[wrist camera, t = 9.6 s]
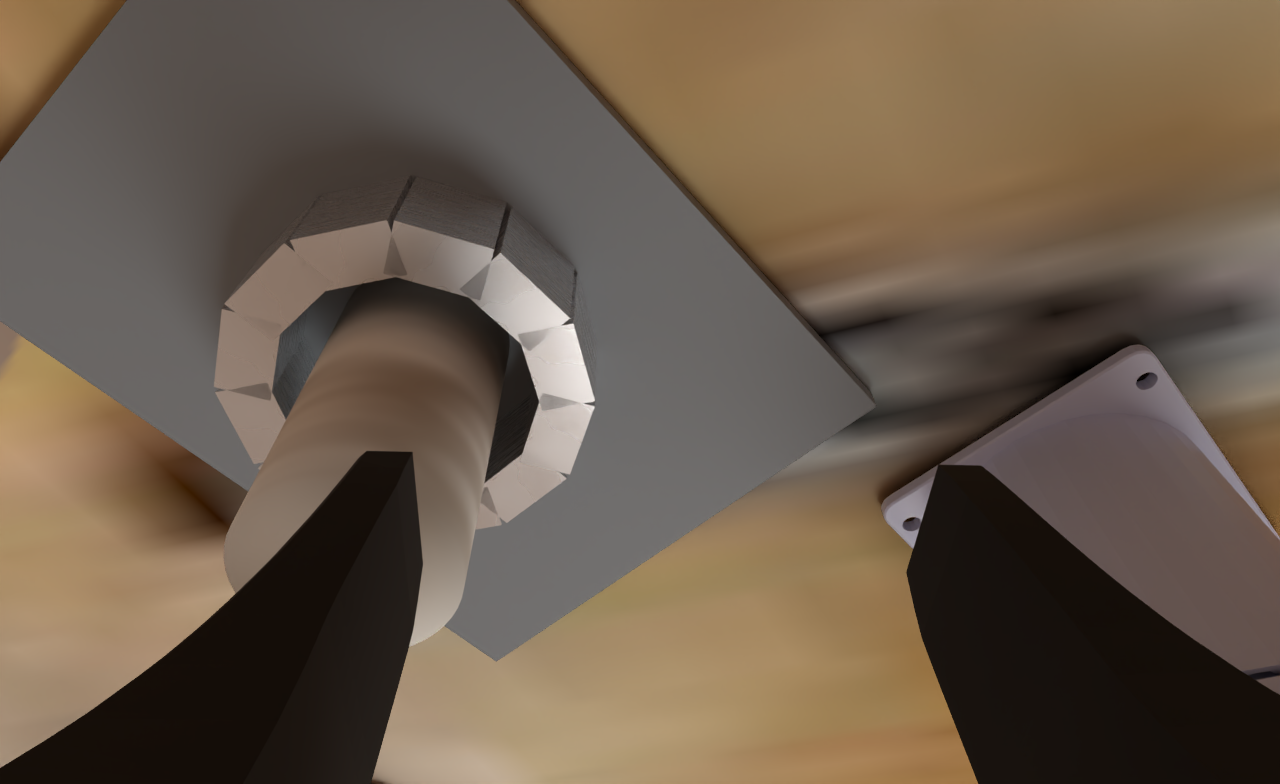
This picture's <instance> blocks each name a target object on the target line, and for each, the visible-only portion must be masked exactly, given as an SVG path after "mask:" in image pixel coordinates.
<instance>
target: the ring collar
mask: <svg viewBox="0 0 1280 784" xmlns="http://www.w3.org/2000/svg"><path fill="white" fill-rule="evenodd" d="M506 203H507V202H504V201H500V200H497V199H494V198H490V197H487V196H484V195H480V194H477V193H474V192H470V191H467V190H464V189H460V188H457V187H454V186H450V185H447V184H444V183H440V182H437V181H433V180H430V179H427V178H423V177H420V176H416V178H415V180H414V182H413V181H412V178H411V175H409V176H405V177H400V178H395V179H390V180H386V181H381V182H376V183H371V184H367V185H362V186H357V187H352V188H348V189H343V190H338V191H333V192H329V193H324V194H323V195H322V196H321V198H319V197H317V198H316V199H315V200H314V201H313V202H312V203H311V204H310V205H309V206H308V207H307V208H306V209H305V210H304V211H303V212H302V213H301V214H300V215H299V216H298V217H297V218H296V219H295V220H294V221H293V222H292V223H291V224H290V225H289V226H288V228H287V229H286V230H285V231H284V232H283V233H282V234H281V235H280V236H279V237H278V238H277V239H276V240H275V241H274V242H273V243H272V244H271V245H270V246H269V247H268V248H267V249H266V250H265V251H264V252H263V253H262V254H261V256H260V257H259V258H258V260H257V261H256V262H255V264H254V265H253V266H252V268H251V269H250V270H249V272H248V273H247V274H246V276H245V277H244V278H243V280H242V281H241V282H240V284H239V285H238V286H237V287H236V289H235V290H234V291H233V293H232V294H231V295H230V297H229V298H228V299H227V301H226V302H225V303H224V304H225V305H224V307H223V308H222V312H221V322H220V332H219V341H218V351H217V361H216V370H215V380H214V387H216V388H217V390H216V392H215V393H216V395H217V397H218V399H219V401H220V403H221V404H222V406H223V408H224V410H225V412H226V414H227V415H228V417H229V419H230V421H231V423H232V425H233V426H234V428H235V430H236V432H237V434H238V436H239V438H240V439H241V441H242V443H243V445H244V447H245V449H246V450H247V452H248V454H249V456H250V458H251V460H252V461H253V463H254V464H257V463H260V465H259V467H258V469H259V470H260V469H261V467H262V465H263V463H264V461H265V459H266V457H267V455H268V453H269V452H270V450H271V448H272V446H273V444H274V442H275V440H276V438H277V436H278V434H279V432H280V431H281V429H282V427H283V425H284V423H285V421H286V419H287V417H288V415H289V413H290V411H291V410H292V408H293V406H294V404H295V402H296V400H297V398H298V396H299V394H300V392H301V390H302V389H303V387H304V385H305V383H306V381H307V379H308V377H309V375H310V373H311V371H312V369H313V367H314V366H315V364H316V360H315V358H314V356H313V354H312V351H311V349H310V347H309V345H308V343H307V341H306V338H305V336H304V332H305V326H306V319H307V313H308V307H309V306H310V305H311V304H312V303H313V302H314V301H315V300H316V299H318V298H319V297H320V296H321V295H322V294H323V293H324V292H325V291H328V290H333V289H338V288H343V287H348V286H353V285H358V284H363V283H368V282H373V281H378V280H383V279H388V278H393V277H397V278H401V279H405V280H408V281H412V282H415V283H419V284H423V285H426V286H430V287H433V288H437V289H441V290H444V291H448V292H451V293H455V294H459V295H462V296H466V297H469V298H470V299H471V300H472V301H473V302H475V303H476V304H477V305H478V306H479V307H480V308H481V309H482V310H483V311H485V312H486V313H487V314H488V315H489V316H490V317H491V318H492V319H494V320H495V321H496V322H497V323H498V324H499V325H500V326H501V327H502V328H504V329H505V330H506V331H507V332H508V333H509V334H510V335H511V336H513V337H514V338H515V339H516V340H517V341H518V342H519V343H520V344H521V346H522V349H523V352H524V355H525V358H526V361H527V364H528V367H529V371H530V374H531V377H532V380H533V383H534V386H533V389H532V392H531V394H530V395H529V396H528V397H527V398H525V399H524V400H523V401H522V402H520V403H519V404H518V405H517V406H515V407H514V408H513V409H512V410H510V411H509V412H508V413H507V414H505V415H504V416H503V417H502V418H500V419H499V420H498V421H497V422H496V424H495V430H494V435H493V440H492V445H491V451H490V456H489V461H488V466H487V471H486V477H485V482H484V487H483V492H482V497H481V503H480V508H479V513H478V518H477V524H476V529H482V528H488V527H494V526H499V525H502V521H503V520H504V521H505V522H506V523H508V522H509V521H510V520H512V519H513V518H514V517H516V516H517V515H518V514H520V513H521V512H522V511H524V510H525V509H526V508H528V507H529V506H531V505H532V504H533V503H535V502H536V501H537V500H539V499H540V498H541V497H543V496H544V495H545V494H547V493H548V492H549V491H551V490H552V489H553V488H555V487H556V486H558V485H559V484H560V483H562V482H563V481H564V480H566V479H567V474H569V475H570V473H571V470H572V467H573V465H574V462H575V459H576V457H577V454H578V451H579V448H580V446H581V443H582V440H583V437H584V435H585V432H586V429H587V427H588V424H589V421H590V418H591V416H592V413H593V410H594V407H595V389H596V360H597V342H596V339H595V335H594V331H593V327H592V324H591V320H590V316H589V312H588V309H587V305H586V301H585V297H584V294H583V290H582V286H581V282H580V279H579V275H578V271H577V272H574V268H575V266H574V265H573V264H572V263H571V262H570V261H569V260H568V259H566V258H565V257H564V256H563V255H562V254H561V253H560V252H559V251H558V250H557V249H556V248H555V247H554V246H553V245H552V244H551V243H550V242H549V241H548V240H547V239H546V238H545V237H544V236H543V235H542V234H541V233H540V232H539V231H538V230H537V229H536V228H535V227H534V226H533V225H532V224H531V223H530V222H529V221H527V220H526V219H525V218H524V217H523V216H522V215H521V214H520V213H519V212H518V211H517V210H516V209H515V208H514V207H513V206H511V207H510V208H509V209H508V210H507V211H506V212H505V213H504V211H505V207H506ZM476 529H475V530H476Z"/></svg>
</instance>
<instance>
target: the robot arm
mask: <svg viewBox="0 0 1280 784" xmlns="http://www.w3.org/2000/svg"><path fill="white" fill-rule="evenodd" d="M1147 372H1150V373H1149V375H1148V376H1147V377H1146V378H1145V379H1144V380H1141V381H1139V382H1137V379H1138V378H1139V377H1140V376H1141V375H1142V374H1145V373H1147ZM881 511H882V514H883V517H884V519H885V520H886V522H887V523H888V524H889V525H890V526H891V527H892V528H893V529H894V530H895V531H896V532H897V533H898V534H899V535H900V536H901V537H902V538H903V539H904V540H905V542H906V543H907V544H908V545H909V546H910V547H911V548H912V549H913V552H912V555H911V558H910V562H909V565H908V569H907V572H906V573H907V577H908V582H909V586H910V591H911V595H912V600H913V604H914V609H915V613H916V617H917V620H918V624H919V628H920V632H921V636H922V639H923V642H924V645H925V647H926V650H927V653H928V656H929V658H930V661H931V663H932V666H933V669H934V671H935V674H936V677H937V679H938V682H939V684H940V687H941V690H942V692H943V695H944V697H945V700H946V702H947V705H948V707H949V710H950V713H951V715H952V718H953V720H954V723H955V725H956V728H957V730H958V733H959V735H960V738H961V741H962V743H963V746H964V748H965V751H966V753H967V756H968V758H969V761H970V763H971V766H972V769H973V771H974V774H975V776H976V779H977V781H978V784H1280V537H1279V536H1278V534H1277V533H1276V531H1275V530H1274V528H1273V527H1272V525H1271V524H1270V522H1269V521H1268V520H1267V518H1266V517H1265V515H1264V514H1263V512H1262V511H1261V509H1260V508H1259V506H1258V505H1257V503H1256V502H1255V501H1254V499H1253V498H1252V496H1251V495H1250V493H1249V492H1248V490H1247V489H1246V487H1245V486H1244V484H1243V483H1242V481H1241V480H1240V479H1239V477H1238V476H1237V474H1236V473H1235V471H1234V470H1233V468H1232V467H1231V465H1230V464H1229V462H1228V461H1227V460H1226V458H1225V457H1224V455H1223V454H1222V452H1221V451H1220V449H1219V448H1218V446H1217V445H1216V443H1215V442H1214V440H1213V439H1212V438H1211V436H1210V435H1209V433H1208V432H1207V430H1206V429H1205V427H1204V426H1203V424H1202V423H1201V421H1200V420H1199V419H1198V417H1197V416H1196V414H1195V413H1194V411H1193V410H1192V408H1191V407H1190V405H1189V404H1188V402H1187V401H1186V399H1185V398H1184V397H1183V395H1182V394H1181V392H1180V391H1179V389H1178V388H1177V386H1176V385H1175V383H1174V382H1173V380H1172V379H1171V378H1170V376H1169V375H1168V373H1167V372H1166V370H1165V369H1164V367H1163V366H1162V364H1161V363H1160V361H1159V360H1158V358H1157V357H1156V356H1155V355H1154V354H1153V353H1152V351H1151V350H1149V349H1148V348H1147V347H1146V346H1143V345H1139V344H1138V345H1130V346H1128V347H1126V348H1124V349H1122V350H1120V351H1119V352H1117V353H1116V354H1114V355H1112V356H1111V357H1109V358H1108V359H1106V360H1104V361H1103V362H1101V363H1100V364H1098V365H1096V366H1095V367H1093V368H1092V369H1090V370H1088V371H1087V372H1085V373H1084V374H1082V375H1081V376H1079V377H1077V378H1076V379H1074V380H1073V381H1071V382H1069V383H1068V384H1066V385H1065V386H1063V387H1061V388H1060V389H1058V390H1057V391H1055V392H1053V393H1052V394H1050V395H1049V396H1047V397H1045V398H1044V399H1042V400H1041V401H1039V402H1038V403H1036V404H1034V405H1033V406H1031V407H1030V408H1028V409H1026V410H1025V411H1023V412H1022V413H1020V414H1018V415H1017V416H1015V417H1014V418H1012V419H1010V420H1009V421H1007V422H1006V423H1004V424H1002V425H1001V426H999V427H998V428H996V429H995V430H993V431H991V432H990V433H988V434H987V435H985V436H983V437H982V438H980V439H979V440H977V441H975V442H974V443H972V444H971V445H969V446H967V447H966V448H964V449H963V450H961V451H960V452H958V453H956V454H955V455H953V456H952V457H950V458H948V459H947V460H945V461H944V462H942V463H940V464H939V465H937V466H936V467H934V468H932V469H931V470H929V471H928V472H926V473H924V474H923V475H921V476H920V477H918V478H917V479H915V480H913V481H912V482H910V483H909V484H907V485H905V486H904V487H902V488H901V489H899V490H897V491H896V492H894V493H893V494H891V495H889V496H888V497H887V498H886V499H885V500H884V501H883V503H882V505H881ZM910 517H916V518H915V519H914V520H913V521H910V522H904V521H905V520H906V519H908V518H910ZM422 569H423V557H422V547H421V536H420V525H419V515H418V504H417V493H416V483H415V472H414V461H413V452H399V451H366V452H365V453H363V454H362V455H361V456H360V457H359V458H358V459H357V460H356V462H355V463H354V464H353V465H352V467H351V468H350V469H349V470H348V471H347V473H346V474H345V475H344V476H343V478H342V479H341V480H340V481H339V483H338V484H337V485H336V486H335V487H334V489H333V490H332V491H331V492H330V493H329V495H328V496H327V497H326V498H325V499H324V500H323V502H322V503H321V504H320V505H319V506H318V507H317V509H316V510H315V511H314V512H313V513H312V514H311V516H310V517H309V518H308V519H307V520H306V521H305V522H304V523H303V524H302V526H301V527H300V528H299V529H298V530H297V531H296V532H295V533H294V534H293V535H292V537H291V538H290V539H289V540H288V541H287V542H286V543H285V544H284V545H283V546H282V548H281V549H280V550H279V551H278V552H277V553H276V554H275V555H274V556H273V557H272V558H271V559H270V560H269V561H268V562H267V563H266V564H265V565H264V566H263V567H262V568H261V569H260V570H259V571H258V572H257V573H256V574H255V575H254V576H253V577H252V578H251V579H250V580H249V581H248V582H247V583H246V584H245V585H244V586H243V587H242V588H241V589H240V590H239V591H238V592H237V593H236V594H235V595H234V596H233V597H232V598H231V599H230V600H229V601H228V602H227V603H225V604H224V605H223V606H222V607H221V608H220V609H219V610H218V611H217V612H216V613H215V614H213V615H212V616H211V617H210V618H209V619H208V620H207V621H206V622H205V623H203V624H202V625H201V626H200V627H199V628H198V629H196V630H195V631H194V632H193V633H192V634H191V635H189V636H188V637H187V638H186V639H185V640H183V641H182V642H181V643H180V644H179V645H177V646H176V647H175V648H174V649H173V650H171V651H170V652H169V653H168V654H167V655H165V656H164V657H163V658H162V659H160V660H159V661H158V662H156V663H155V664H154V665H152V666H151V667H150V668H149V669H147V670H146V671H145V672H143V673H142V674H141V675H139V676H138V677H137V678H135V679H134V680H132V681H131V682H130V683H128V684H127V685H126V686H124V687H123V688H121V689H120V690H119V691H117V692H116V693H115V694H113V695H112V696H110V697H109V698H108V699H106V700H105V701H103V702H102V703H101V704H99V705H98V706H97V707H95V708H94V709H92V710H91V711H90V712H88V713H87V714H85V715H84V716H82V717H81V718H79V719H78V720H76V721H75V722H73V723H71V724H70V725H68V726H67V727H65V728H64V729H62V730H61V731H59V732H58V733H56V734H54V735H53V736H51V737H50V738H48V739H47V740H45V741H44V742H42V743H40V744H39V745H37V746H35V747H34V748H32V749H31V750H29V751H27V752H26V753H24V754H22V755H21V756H19V757H18V758H16V759H14V760H13V761H11V762H9V763H8V764H6V765H4V766H3V767H1V768H0V784H371V780H372V777H373V773H374V770H375V766H376V763H377V759H378V756H379V752H380V748H381V745H382V741H383V738H384V734H385V731H386V727H387V724H388V720H389V717H390V713H391V709H392V706H393V702H394V699H395V695H396V692H397V688H398V685H399V681H400V677H401V674H402V670H403V666H404V663H405V659H406V656H407V652H408V648H409V645H410V641H411V637H412V633H413V628H414V622H415V616H416V609H417V603H418V596H419V589H420V583H421V576H422Z"/></svg>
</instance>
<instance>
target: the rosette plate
mask: <svg viewBox="0 0 1280 784" xmlns="http://www.w3.org/2000/svg"><path fill="white" fill-rule="evenodd" d="M409 175H411V178H412V181H413V182H414V180H415V178H416V176H420V177H423V178H427V179H430V180H433V181H437V182H440V183H444V184H447V185H450V186H454V187H457V188H460V189H464V190H467V191H470V192H474V193H477V194H480V195H484V196H487V197H490V198H494V199H497V200H500V201H504V202H507V203H506V207H505V211H504V213H505V212H506V211H507V210H508V209H509V208H510V207H511V206H513V207H514V208H515V209H516V210H517V211H518V212H519V213H520V214H521V215H522V216H523V217H524V218H525V219H526V220H527V221H529V222H530V223H531V224H532V225H533V226H534V227H535V228H536V229H537V230H538V231H539V232H540V233H541V234H542V235H543V236H544V237H545V238H546V239H547V240H548V241H549V242H550V243H551V244H552V245H553V246H554V247H555V248H556V249H557V250H558V251H559V252H560V253H561V254H562V255H563V256H564V257H565V258H566V259H568V260H569V261H570V262H571V263H572V264H573V265H574V266H575V268H574V272H577V271H578V275H579V279H580V282H581V286H582V290H583V294H584V297H585V301H586V305H587V309H588V312H589V316H590V320H591V324H592V327H593V331H594V335H595V339H596V342H597V360H596V389H595V407H594V410H593V413H592V416H591V418H590V421H589V424H588V427H587V429H586V432H585V435H584V437H583V440H582V443H581V446H580V448H579V451H578V454H577V457H576V459H575V462H574V465H573V467H572V470H571V473H570V475H569V474H567V479H566V480H564V481H563V482H562V483H560V484H559V485H558V486H556V487H555V488H553V489H552V490H551V491H549V492H548V493H547V494H545V495H544V496H543V497H541V498H540V499H539V500H537V501H536V502H535V503H533V504H532V505H531V506H529V507H528V508H526V509H525V510H524V511H522V512H521V513H520V514H518V515H517V516H516V517H514V518H513V519H512V520H510V521H509V522H508V523H506V522H505V521H504V520H503V521H502V525H499V526H494V527H488V528H482V529H476V530H475V534H474V539H473V544H472V550H471V555H470V560H469V565H468V570H467V576H466V581H465V586H464V591H463V595H462V599H461V602H460V604H459V606H458V609H457V610H456V612H455V613H454V615H453V616H452V618H451V619H450V620H449V621H448V622H447V623H446V624H445V627H447V628H448V629H450V630H451V631H453V632H454V633H456V634H457V635H458V636H460V637H461V638H463V639H464V640H466V641H467V642H469V643H470V644H472V645H473V646H474V647H476V648H477V649H479V650H480V651H482V652H483V653H485V654H486V655H488V656H489V657H491V658H492V659H493V660H495V661H498V660H499V659H501V658H502V657H504V656H505V655H507V654H508V653H510V652H511V651H513V650H514V649H516V648H517V647H519V646H520V645H522V644H523V643H525V642H526V641H528V640H529V639H531V638H532V637H534V636H535V635H537V634H538V633H540V632H541V631H543V630H544V629H546V628H547V627H549V626H550V625H552V624H553V623H554V622H556V621H557V620H559V619H560V618H562V617H563V616H565V615H566V614H568V613H569V612H571V611H572V610H574V609H575V608H577V607H578V606H580V605H581V604H583V603H584V602H586V601H587V600H589V599H590V598H592V597H593V596H595V595H596V594H598V593H599V592H601V591H602V590H604V589H605V588H607V587H608V586H610V585H611V584H613V583H614V582H616V581H617V580H619V579H620V578H622V577H623V576H624V575H626V574H627V573H629V572H630V571H632V570H633V569H635V568H636V567H638V566H639V565H641V564H642V563H644V562H645V561H647V560H648V559H650V558H651V557H653V556H654V555H656V554H657V553H659V552H660V551H662V550H663V549H665V548H666V547H668V546H669V545H671V544H672V543H674V542H675V541H677V540H678V539H680V538H681V537H683V536H684V535H686V534H687V533H689V532H690V531H692V530H693V529H694V528H696V527H697V526H699V525H700V524H702V523H703V522H705V521H706V520H708V519H709V518H711V517H712V516H714V515H715V514H717V513H718V512H720V511H721V510H723V509H724V508H726V507H727V506H729V505H730V504H732V503H733V502H735V501H736V500H738V499H739V498H741V497H742V496H744V495H745V494H747V493H748V492H750V491H751V490H753V489H754V488H756V487H757V486H759V485H760V484H762V483H763V482H765V481H766V480H767V479H769V478H770V477H772V476H773V475H775V474H776V473H778V472H779V471H781V470H782V469H784V468H785V467H787V466H788V465H790V464H791V463H793V462H794V461H796V460H797V459H799V458H800V457H802V456H803V455H805V454H806V453H808V452H809V451H811V450H812V449H814V448H815V447H817V446H818V445H820V444H821V443H823V442H824V441H826V440H827V439H829V438H830V437H832V436H833V435H835V434H836V433H837V432H839V431H840V430H842V429H843V428H845V427H846V426H848V425H849V424H851V423H852V422H854V421H855V420H857V419H858V418H860V417H861V416H863V415H864V414H866V413H867V412H869V411H870V410H872V409H873V408H875V407H876V406H877V405H876V403H875V401H874V398H873V396H872V394H871V392H870V391H869V390H868V389H867V388H866V387H865V386H864V385H863V383H862V382H861V381H860V380H859V379H858V378H857V377H856V376H855V375H854V374H853V372H852V371H851V370H850V369H849V368H848V367H847V366H846V365H845V364H844V363H843V361H842V360H841V359H840V358H839V357H838V356H837V355H836V354H835V353H834V351H833V350H832V349H831V348H830V347H829V346H828V345H827V344H826V343H825V342H824V340H823V339H822V338H821V337H820V336H819V335H818V334H817V333H816V332H815V331H814V329H813V328H812V327H811V326H810V325H809V324H808V323H807V322H806V321H805V319H804V318H803V317H802V316H801V315H800V314H799V313H798V312H797V311H796V310H795V308H794V307H793V306H792V305H791V304H790V303H789V302H788V301H787V300H786V299H785V297H784V296H783V295H782V294H781V293H780V292H779V291H778V290H777V289H776V287H775V286H774V285H773V284H772V283H771V282H770V281H769V280H768V279H767V278H766V276H765V275H764V274H763V273H762V272H761V271H760V270H759V269H758V268H757V267H756V265H755V264H754V263H753V262H752V261H751V260H750V259H749V258H748V257H747V255H746V254H745V253H744V252H743V251H742V250H741V249H740V248H739V247H738V246H737V244H736V243H735V242H734V241H733V240H732V239H731V238H730V237H729V236H728V235H727V233H726V232H725V231H724V230H723V229H722V228H721V227H720V226H719V225H718V223H717V222H716V221H715V220H714V219H713V218H712V217H711V216H710V215H709V214H708V212H707V211H706V210H705V209H704V208H703V207H702V206H701V205H700V204H699V203H698V201H697V200H696V199H695V198H694V197H693V196H692V195H691V194H690V193H689V192H688V190H687V189H686V188H685V187H684V186H683V185H682V184H681V183H680V182H679V180H678V179H677V178H676V177H675V176H674V175H673V174H672V173H671V172H670V171H669V169H668V168H667V167H666V166H665V165H664V164H663V163H662V162H661V161H660V160H659V158H658V157H657V156H656V155H655V154H654V153H653V152H652V151H651V150H650V148H649V147H648V146H647V145H646V144H645V143H644V142H643V141H642V140H641V139H640V137H639V136H638V135H637V134H636V133H635V132H634V131H633V130H632V129H631V128H630V126H629V125H628V124H627V123H626V122H625V121H624V120H623V119H622V118H621V116H620V115H619V114H618V113H617V112H616V111H615V110H614V109H613V108H612V107H611V105H610V104H609V103H608V102H607V101H606V100H605V99H604V98H603V97H602V96H601V94H600V93H599V92H598V91H597V90H596V89H595V88H594V87H593V86H592V84H591V83H590V82H589V81H588V80H587V79H586V78H585V77H584V76H583V75H582V73H581V72H580V71H579V70H578V69H577V68H576V67H575V66H574V65H573V64H572V62H571V61H570V60H569V59H568V58H567V57H566V56H565V55H564V54H563V52H562V51H561V50H560V49H559V48H558V47H557V46H556V45H555V44H554V43H553V41H552V40H551V39H550V38H549V37H548V36H547V35H546V34H545V33H544V32H543V30H542V29H541V28H540V27H539V26H538V25H537V24H536V23H535V22H534V20H533V19H532V18H531V17H530V16H529V15H528V14H527V13H526V12H525V11H524V9H523V8H522V7H521V6H520V5H519V4H518V3H517V2H516V1H515V0H127V1H126V2H125V3H124V5H123V6H122V7H121V8H120V10H119V11H118V12H117V14H116V15H115V16H114V17H113V19H112V20H111V21H110V22H109V24H108V25H107V26H106V28H105V29H104V30H103V31H102V33H101V34H100V35H99V37H98V38H97V39H96V40H95V42H94V43H93V44H92V45H91V47H90V48H89V49H88V51H87V52H86V53H85V54H84V56H83V57H82V58H81V60H80V61H79V62H78V63H77V65H76V66H75V67H74V68H73V70H72V71H71V72H70V74H69V75H68V76H67V77H66V79H65V80H64V81H63V83H62V84H61V85H60V86H59V88H58V89H57V90H56V91H55V93H54V94H53V95H52V97H51V98H50V99H49V100H48V102H47V103H46V104H45V106H44V107H43V108H42V109H41V111H40V112H39V113H38V114H37V116H36V117H35V118H34V120H33V121H32V122H31V123H30V125H29V126H28V127H27V129H26V130H25V131H24V132H23V134H22V135H21V136H20V137H19V139H18V140H17V141H16V143H15V144H14V145H13V146H12V148H11V149H10V150H9V152H8V153H7V154H6V155H5V157H4V158H3V159H2V160H1V162H0V321H1V322H2V323H3V324H5V325H7V326H8V327H9V328H11V329H12V330H14V331H15V332H17V333H18V334H20V335H21V336H22V337H24V338H25V339H27V340H28V341H30V342H31V343H33V344H34V345H36V346H37V347H38V348H40V349H41V350H43V351H44V352H46V353H47V354H49V355H50V356H52V357H53V358H55V359H56V360H57V361H59V362H60V363H62V364H63V365H65V366H66V367H68V368H69V369H71V370H72V371H73V372H75V373H76V374H78V375H79V376H81V377H82V378H84V379H85V380H87V381H88V382H90V383H91V384H92V385H94V386H95V387H97V388H98V389H100V390H101V391H103V392H104V393H106V394H107V395H108V396H110V397H111V398H113V399H114V400H116V401H117V402H119V403H120V404H122V405H123V406H125V407H126V408H127V409H129V410H130V411H132V412H133V413H135V414H136V415H138V416H139V417H141V418H142V419H143V420H145V421H146V422H148V423H149V424H151V425H152V426H154V427H155V428H157V429H158V430H160V431H161V432H162V433H164V434H165V435H167V436H168V437H170V438H171V439H173V440H174V441H176V442H177V443H178V444H180V445H181V446H183V447H184V448H186V449H187V450H189V451H190V452H192V453H193V454H195V455H196V456H197V457H199V458H200V459H202V460H203V461H205V462H206V463H208V464H209V465H211V466H212V467H213V468H215V469H216V470H218V471H219V472H221V473H222V474H224V475H225V476H227V477H228V478H229V479H231V480H232V481H234V482H235V483H237V484H238V485H240V486H241V487H243V488H244V489H246V490H247V491H248V492H249V490H250V488H251V486H252V484H253V482H254V480H255V478H256V476H257V474H258V473H259V471H260V470H259V469H258V467H259V465H260V463H257V464H254V463H253V461H252V460H251V458H250V456H249V454H248V452H247V450H246V449H245V447H244V445H243V443H242V441H241V439H240V438H239V436H238V434H237V432H236V430H235V428H234V426H233V425H232V423H231V421H230V419H229V417H228V415H227V414H226V412H225V410H224V408H223V406H222V404H221V403H220V401H219V399H218V397H217V395H216V393H215V392H216V390H217V388H216V387H214V380H215V370H216V361H217V351H218V341H219V332H220V322H221V312H222V308H223V307H224V305H225V304H224V303H225V302H226V301H227V299H228V298H229V297H230V295H231V294H232V293H233V291H234V290H235V289H236V287H237V286H238V285H239V284H240V282H241V281H242V280H243V278H244V277H245V276H246V274H247V273H248V272H249V270H250V269H251V268H252V266H253V265H254V264H255V262H256V261H257V260H258V258H259V257H260V256H261V254H262V253H263V252H264V251H265V250H266V249H267V248H268V247H269V246H270V245H271V244H272V243H273V242H274V241H275V240H276V239H277V238H278V237H279V236H280V235H281V234H282V233H283V232H284V231H285V230H286V229H287V228H288V226H289V225H290V224H291V223H292V222H293V221H294V220H295V219H296V218H297V217H298V216H299V215H300V214H301V213H302V212H303V211H304V210H305V209H306V208H307V207H308V206H309V205H310V204H311V203H312V202H313V201H314V200H315V199H316V198H317V197H319V198H321V196H322V195H323V194H324V193H329V192H333V191H338V190H343V189H348V188H352V187H357V186H362V185H367V184H371V183H376V182H381V181H386V180H390V179H395V178H400V177H405V176H409ZM360 285H361V284H358V285H353V286H348V287H343V288H338V289H333V290H328V291H325V292H324V293H323V294H322V295H321V296H320V297H319V298H318V299H316V300H315V301H314V302H313V303H312V304H311V305H310V306H309V307H308V313H307V319H306V326H305V332H304V336H305V338H306V341H307V343H308V345H309V347H310V349H311V351H312V354H313V356H314V358H315V360H316V362H317V360H318V358H319V356H320V354H321V352H322V350H323V348H324V346H325V345H326V343H327V341H328V339H329V337H330V335H331V333H332V331H333V329H334V327H335V325H336V324H337V322H338V320H339V318H340V316H341V314H342V312H343V310H344V308H345V306H346V304H347V303H348V301H349V299H350V297H351V296H352V294H353V293H354V291H355V290H356V289H357V288H358V287H359V286H360ZM509 338H510V350H509V357H508V362H507V367H506V372H505V378H504V383H503V388H502V393H501V398H500V404H499V409H498V414H497V419H496V422H497V421H498V420H499V419H500V418H502V417H503V416H504V415H505V414H507V413H508V412H509V411H510V410H512V409H513V408H514V407H515V406H517V405H518V404H519V403H520V402H522V401H523V400H524V399H525V398H527V397H528V396H529V395H530V394H531V392H532V389H533V386H534V383H533V380H532V377H531V374H530V371H529V367H528V364H527V361H526V358H525V355H524V352H523V349H522V346H521V344H520V343H519V342H518V341H517V340H516V339H515V338H514V337H513V336H511V335H510V334H509Z"/></svg>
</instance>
